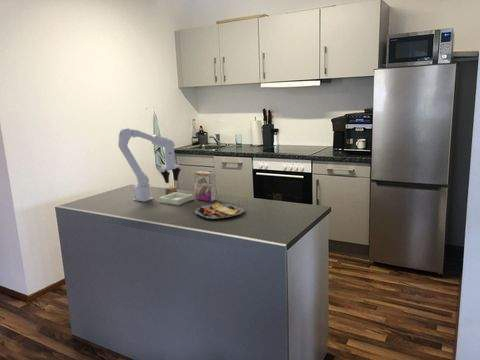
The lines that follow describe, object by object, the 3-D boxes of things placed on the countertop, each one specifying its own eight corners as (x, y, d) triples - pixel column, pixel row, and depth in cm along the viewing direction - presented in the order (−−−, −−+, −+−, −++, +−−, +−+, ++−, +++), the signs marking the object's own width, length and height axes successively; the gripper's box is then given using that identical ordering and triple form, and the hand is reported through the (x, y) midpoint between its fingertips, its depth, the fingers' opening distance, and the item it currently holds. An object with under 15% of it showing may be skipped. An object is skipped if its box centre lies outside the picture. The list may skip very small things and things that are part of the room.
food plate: (186, 213, 208) (186, 206, 207) (222, 204, 222) (222, 198, 222) (215, 225, 189) (215, 218, 188) (251, 215, 204) (251, 208, 203)
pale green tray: (159, 202, 231) (158, 197, 230) (175, 197, 242) (175, 192, 241) (177, 205, 223) (177, 200, 222) (193, 199, 235) (193, 194, 234)
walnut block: (165, 196, 246) (165, 188, 245) (171, 194, 250) (170, 186, 249) (171, 197, 243) (171, 189, 242) (177, 195, 247) (176, 187, 246)
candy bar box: (195, 199, 234) (194, 172, 231) (200, 197, 238) (199, 170, 235) (211, 201, 228) (209, 173, 225) (216, 199, 233) (214, 172, 229)
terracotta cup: (193, 196, 242) (192, 185, 241) (199, 194, 247) (198, 183, 246) (201, 197, 239) (200, 186, 238) (207, 195, 244) (206, 184, 242)
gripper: (166, 161, 230) (168, 184, 233) (183, 158, 242) (184, 180, 245) (157, 161, 234) (159, 183, 237) (174, 157, 246) (175, 179, 249)
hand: (171, 181), depth 241 cm, fingers open, 7 cm apart
